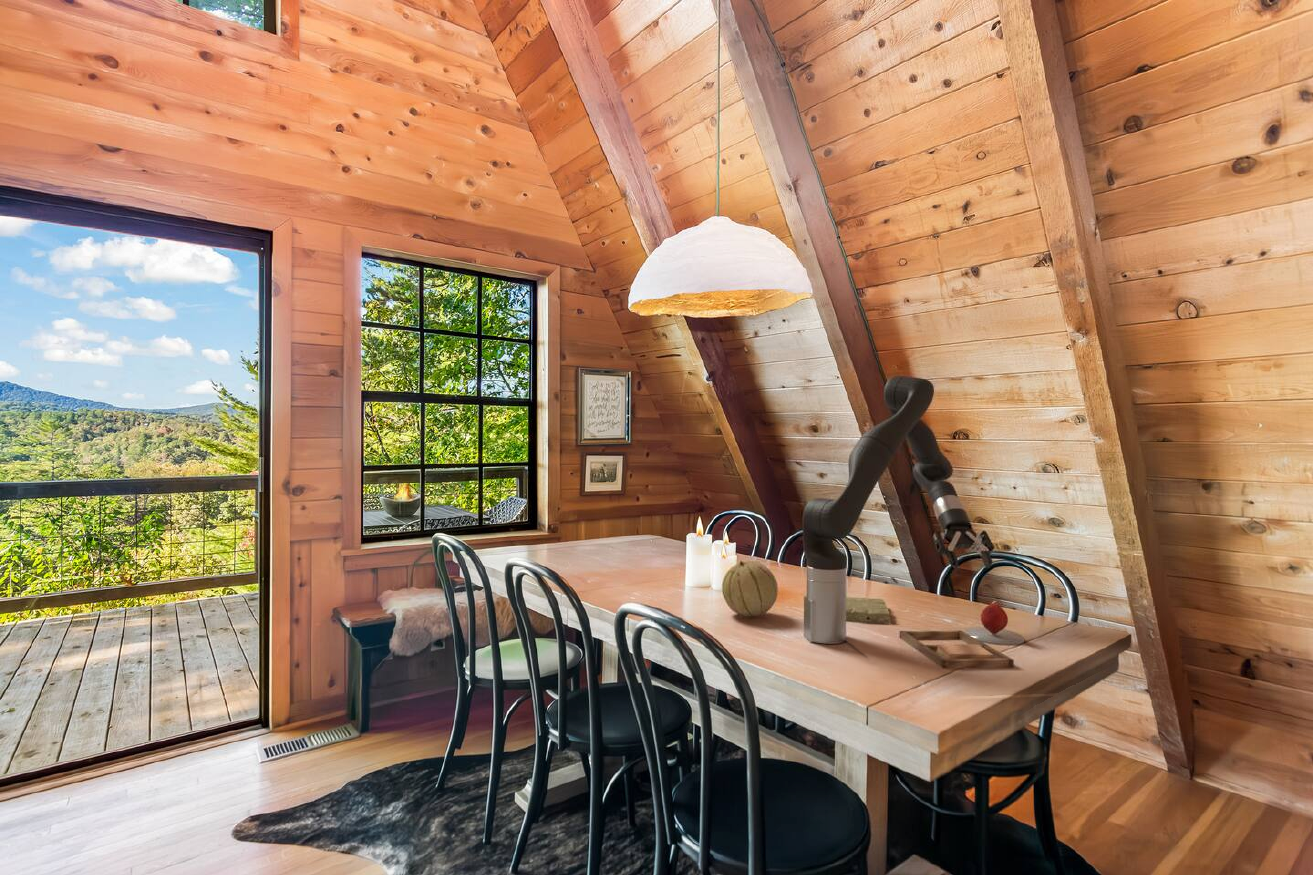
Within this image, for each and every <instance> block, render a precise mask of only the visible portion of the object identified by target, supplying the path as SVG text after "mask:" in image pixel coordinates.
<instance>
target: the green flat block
mask: <svg viewBox="0 0 1313 875" xmlns="http://www.w3.org/2000/svg"><path fill="white" fill-rule="evenodd" d="M847 621H848V622H853V623H854V622H855V623H867V624H869V623H871V624H883V625H884V624H886V625H887V624H888V625H891V624H892V623H891V621H892V620H891V615H890V612H889V608H888V606H887V604H886V602H885V601H884V599H882V598H869V597H858V596H857V597H855V596H846V622H847Z"/></svg>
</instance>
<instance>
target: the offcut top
mask: <svg viewBox="0 0 1313 875" xmlns="http://www.w3.org/2000/svg"><path fill="white" fill-rule="evenodd" d="M937 645H938V651H939V652H941V653H942V654H943V655H944V656H946V657H947V658H948V659H993V654H991V653H990V652H988V651H987V650H985V649H984V648H982V647H981V646H979V645H954V644H937Z"/></svg>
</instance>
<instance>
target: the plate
mask: <svg viewBox="0 0 1313 875" xmlns="http://www.w3.org/2000/svg"><path fill="white" fill-rule="evenodd" d="M963 632H964V633H966V634H968V635H970V636H972V637H973V638H975V639H977V640H979V641H981V642H982V643H984V644H991V645H999V646H1000V645H1001V646H1013V645H1020V644H1024V642H1025V641H1024V636H1023V635H1021V634H1020V633H1017V632H1015V631H1012V630H1009V629H1008V630H1007V629H1005V628H1004V629H1003V630H1001V631H999V632H998V633H997V634H992V633H991V632H990V631H988V630H987V629H986V628H985V627H984V626H974V627H967V628H964V630H963Z"/></svg>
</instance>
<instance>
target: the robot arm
mask: <svg viewBox="0 0 1313 875" xmlns="http://www.w3.org/2000/svg"><path fill="white" fill-rule="evenodd" d="M934 394H935V388H934V384H933V382H931V381H930V380H928V379H926V378H922V377H914V376H906V375H893V376H891V377H890V378H889V379H888V380H887V382H886V383H885V385H884V389H883V399H884V401H885V402H884V403H885V405H886V407H887V408H888V410H889V412H890V414H891V415H892V416H891V417H890V418H888V419H886V420H884V421H881V422H880V423H878V424H876V425H875V426H873V427H871V428H870V429H869V430H866V431H865V432H864V433H863V435H862V436H860V437H859V439H858V441H857V442H856V444H855V446H854V447H853V449H852V450H851V452H850V454H849V458H848V462H847V463H848V467H847V468H848V481H847V483H846V484H845V487H844V488H843V490H842V492H841V493H840V494H839V496H838V497H837V498H836V499H833V498H822V497H821V498H820V497H815V498H812V499H811V500H808V502H807V503H806V504H805V507H804V509H803V515H802V540H803V544H802V546H803V553H804V555H805V558H806V595H804V596H803V636H804V637H805V638H806V639H807V640H808V641H809V643H810V642H811V643H819V644H825V645H826V644H827V645H828V644H829V645H836V644H841V643H845V642H846V641H847V621H846V597H847V584H848V583H847V582H848V581H847V577H848V576H847V574H848V572H847V569H848V568H847V565H848V564H847V563H848V561H847V560H848V559H847V556H846V555H845V553H843V552H842V551H841V550H839V549H838V548H837V547H836V546H835V543H834V541H833V540H842V539H845V538H847V536H849V535H850V533H852V531H853V529H854V528H855V526H856V523H857V522H858V520H859V518H860V516H861V514H862V511H863V509H864V508H865V505H866V504H867V502H868V499H869V498H870V495H871V494H872V492H873V491H874V489H875V487H877V486H876V485H877V484H878V482H879V480H880V479H881V477H882V475H883V474H884V473H885V471H886V470H887V468H888V467H889V466H890V464H891V462H892V460H893V459H894V457H895V456H896V454H897V453H898V450H899V448H900V447H901V445H902V444H903V443H904V441H905V439H906V440H907V441H908V444H909V448H910V449H911V453H912V455H913V458H914V460H915V461H916V463H915V464H914V465H913V467H912V474H913V475H912V476H913V477H914V480H915V481H916V482H917V484H918V485H919V486H921V488H922V489H923V491H925V492H926V494H927V495H928V498H929V499H930V500H929V501H930V502H931V505H932V508H933V511H934V512H933V513H934V514H935V517H936V520H937V522H938V524H939V527H940V529H941V531H940V530H936V531H935V532H934V533H933V536H932V539H933V542H934V546H935V549H936V552H937V554H938V555H939V556H940V555H945V556H946V557H947V560H948V562H949V563H948V564H949V565H950V566H951V567H952V568H953V569H957V568H958V566H959V564H960V563H959V560H958V557H957V555H956V552H955V551H954V549H955V548H956V549H957V550H962V549H965V550H971V551H973V552H974V553H977V554H978V555H980V558H981V560H982V562H983V565H984V567H985V569H990V568H991V566H992V564H993V559H992V557H991V554H992V553H993V551H994V550H995V546H994V543H993V541H992V540H991V538H990V536H989V535H988V533H987V531H986V530H982V531H981V532H976V531H974V529H973V525H972V523H971V521H970V518H969V516H968V513H967V512H966V509H965V507H964V504H963V503H962V501H961V500H960V498H959V495H958V494H957V491H956V489H955V487H954V485H953V484H952V483H951V482H949V481H947V480H948V479H950V478H951V477H952V475H953V472H954V469H953V464H952V463H951V462H950V460H949V459H948V457H946V456H945V454H944V453H943V452H942V451H941V449H940V447H939V444H938V442H937V438H936V436H935V433H934V431H933V430H932V429H931V427H929V426H928V424H927V423H925V422H924V421H923V420H922V417H923V416H924V415H925V414H926V412H927V410H928V409H929V407H930V405H931V403H932V402H933V399H934ZM944 540H945V541H946V542H947V543H949V545H948V547H946V545H945V541H944ZM974 543H975V545H974Z"/></svg>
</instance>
